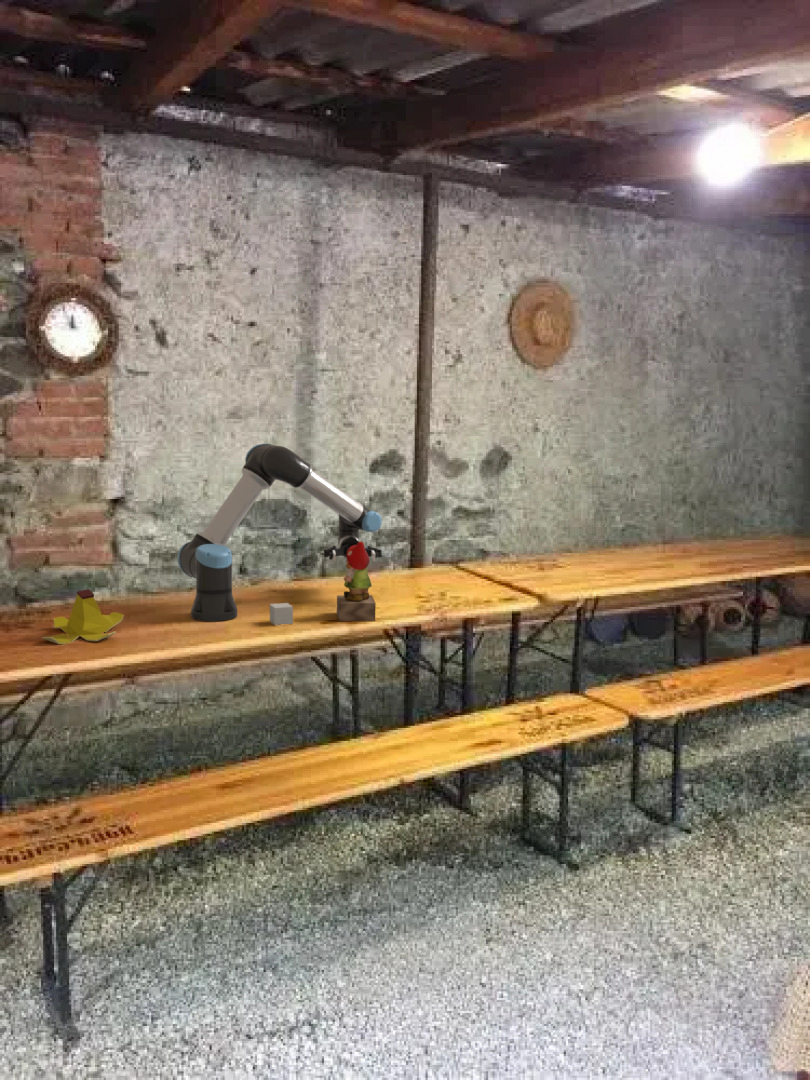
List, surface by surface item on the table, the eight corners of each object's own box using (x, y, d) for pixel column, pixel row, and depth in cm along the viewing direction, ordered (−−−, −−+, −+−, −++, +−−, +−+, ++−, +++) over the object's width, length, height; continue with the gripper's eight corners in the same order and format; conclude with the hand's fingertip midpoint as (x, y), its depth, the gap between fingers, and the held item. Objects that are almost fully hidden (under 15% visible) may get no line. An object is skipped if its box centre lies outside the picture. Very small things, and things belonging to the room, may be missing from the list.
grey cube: (274, 626, 315) (274, 608, 314) (269, 621, 320) (269, 604, 319) (292, 624, 317) (292, 606, 316) (287, 620, 323) (287, 602, 322)
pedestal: (339, 621, 323) (339, 603, 322) (336, 612, 335) (336, 595, 334) (375, 620, 325) (375, 603, 324) (371, 612, 337) (371, 595, 336)
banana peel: (139, 646, 296) (140, 599, 293) (47, 656, 282) (48, 607, 279) (116, 618, 317) (117, 574, 313) (30, 626, 303) (30, 580, 299)
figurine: (351, 595, 335) (352, 537, 332) (375, 597, 333) (376, 539, 330) (339, 601, 325) (340, 542, 322) (364, 603, 322) (365, 544, 319)
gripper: (384, 557, 358) (390, 568, 338) (315, 557, 355) (318, 568, 335) (384, 536, 357) (390, 546, 336) (316, 536, 354) (318, 546, 333)
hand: (354, 557), depth 335 cm, fingers open, 13 cm apart
